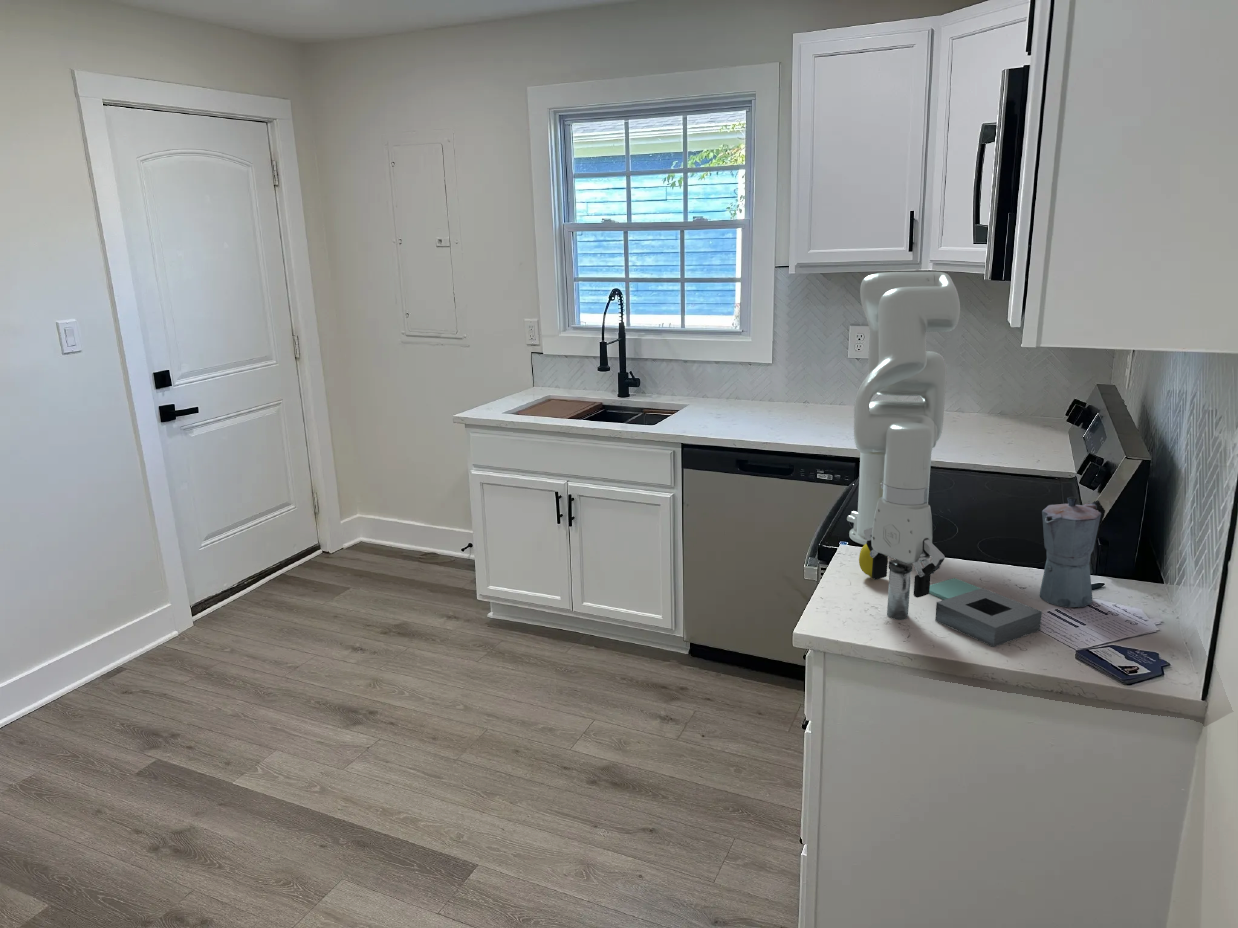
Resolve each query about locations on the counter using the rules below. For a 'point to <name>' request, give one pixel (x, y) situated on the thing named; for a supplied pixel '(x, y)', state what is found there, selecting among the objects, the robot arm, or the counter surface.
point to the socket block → (988, 616)
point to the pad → (951, 588)
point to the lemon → (866, 560)
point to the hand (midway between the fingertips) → (899, 586)
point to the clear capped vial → (899, 589)
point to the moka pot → (1069, 552)
